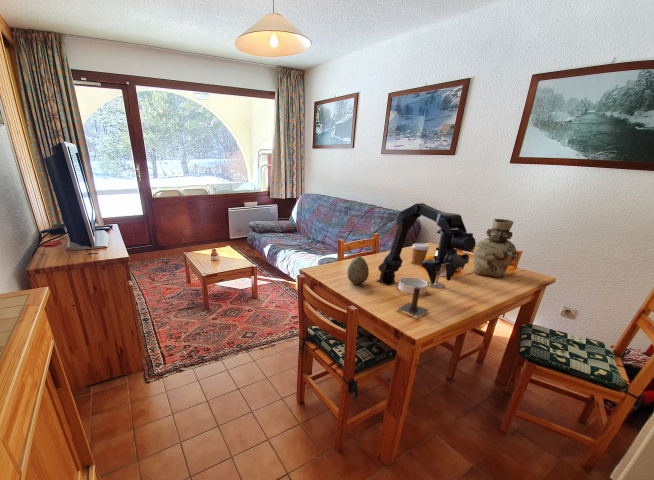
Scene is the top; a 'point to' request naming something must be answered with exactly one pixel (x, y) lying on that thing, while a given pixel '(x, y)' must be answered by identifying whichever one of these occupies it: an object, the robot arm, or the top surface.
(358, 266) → the decorative egg
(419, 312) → the coaster
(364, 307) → the top surface
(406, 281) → the bowl
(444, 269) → the wine glass
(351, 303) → the top surface
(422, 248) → the disposable coffee cup
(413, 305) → the stirring stick
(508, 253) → the ceramic vessel
